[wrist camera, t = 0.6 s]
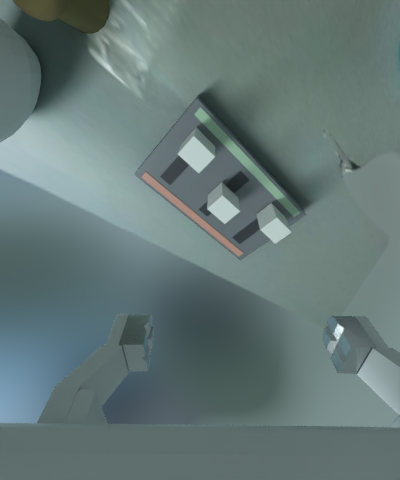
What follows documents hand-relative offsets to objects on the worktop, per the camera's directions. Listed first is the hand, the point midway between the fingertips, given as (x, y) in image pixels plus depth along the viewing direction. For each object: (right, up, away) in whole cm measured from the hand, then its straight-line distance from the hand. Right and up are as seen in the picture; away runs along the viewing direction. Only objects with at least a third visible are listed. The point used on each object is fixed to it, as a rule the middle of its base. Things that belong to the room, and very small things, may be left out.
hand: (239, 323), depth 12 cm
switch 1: (-2, +17, +23) cm, 29 cm away
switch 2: (+10, +8, +29) cm, 32 cm away
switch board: (+2, +12, +30) cm, 32 cm away
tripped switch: (+2, +11, +28) cm, 30 cm away
